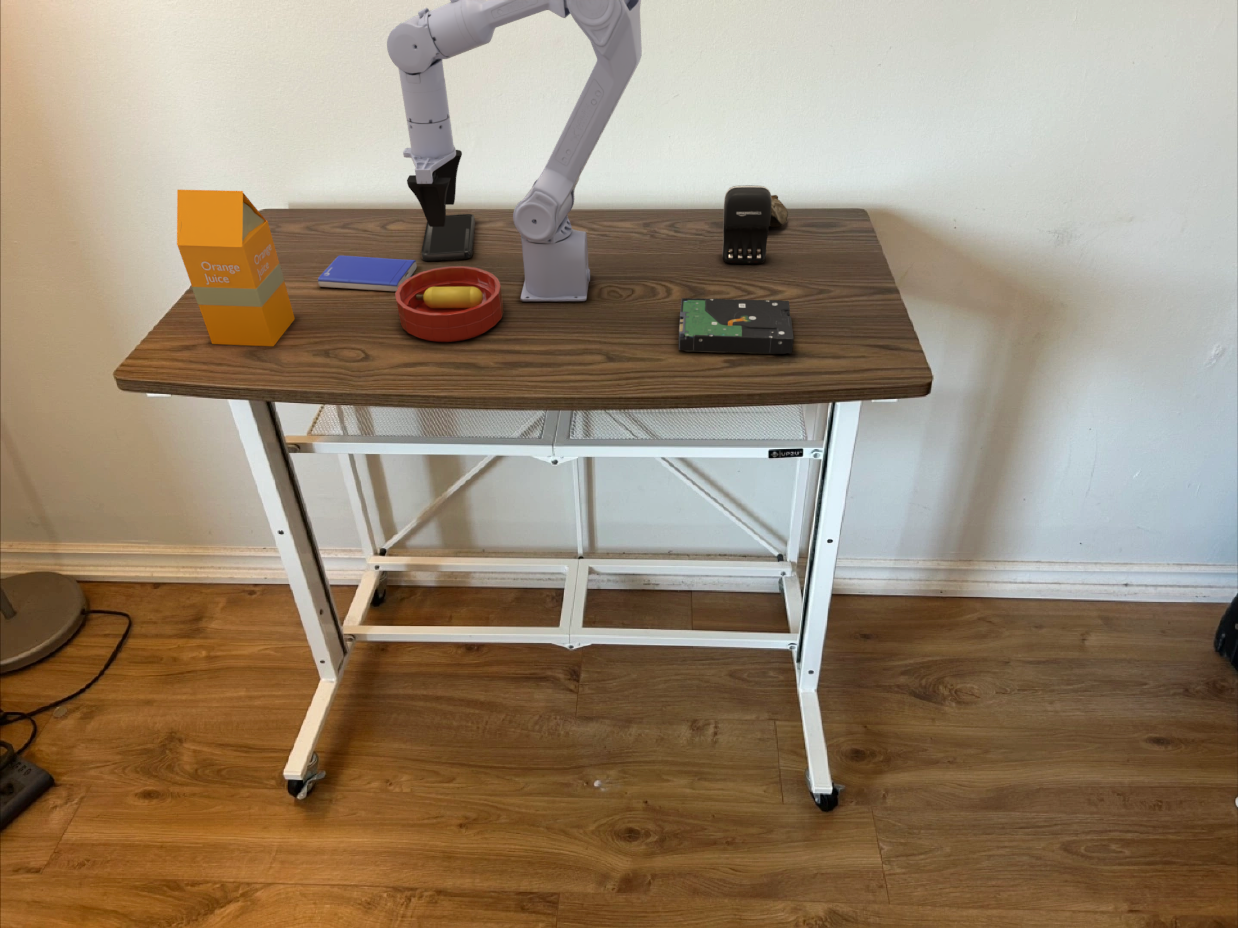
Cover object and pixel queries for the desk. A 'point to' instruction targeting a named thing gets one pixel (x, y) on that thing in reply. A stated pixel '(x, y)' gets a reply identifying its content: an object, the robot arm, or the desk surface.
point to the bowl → (449, 320)
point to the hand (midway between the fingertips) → (442, 214)
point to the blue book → (367, 273)
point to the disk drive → (735, 326)
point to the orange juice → (232, 267)
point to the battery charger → (746, 224)
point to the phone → (449, 239)
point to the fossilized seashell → (778, 212)
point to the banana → (451, 297)
